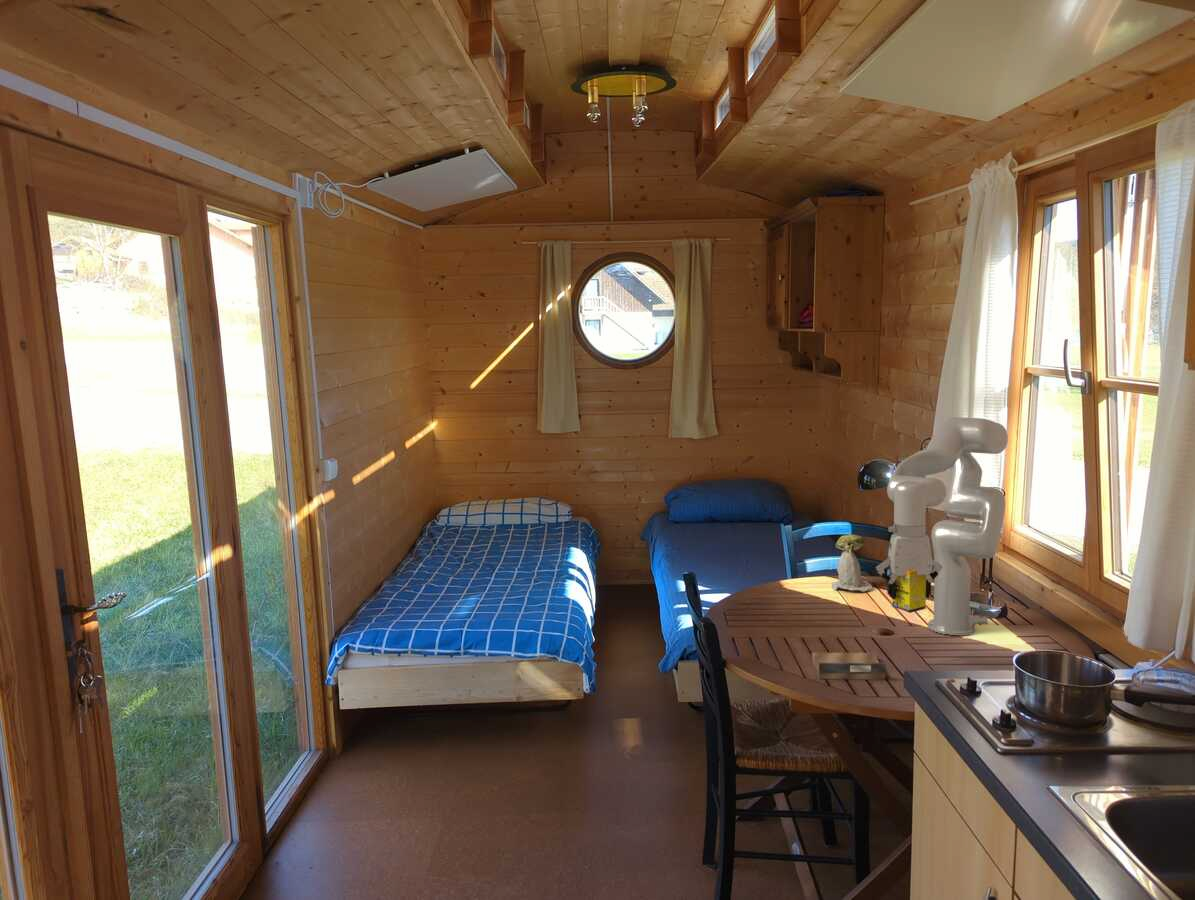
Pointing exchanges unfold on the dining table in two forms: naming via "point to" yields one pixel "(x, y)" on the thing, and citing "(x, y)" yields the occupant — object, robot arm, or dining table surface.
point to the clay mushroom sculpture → (850, 565)
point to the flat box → (848, 666)
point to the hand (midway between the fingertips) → (908, 596)
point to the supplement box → (910, 592)
